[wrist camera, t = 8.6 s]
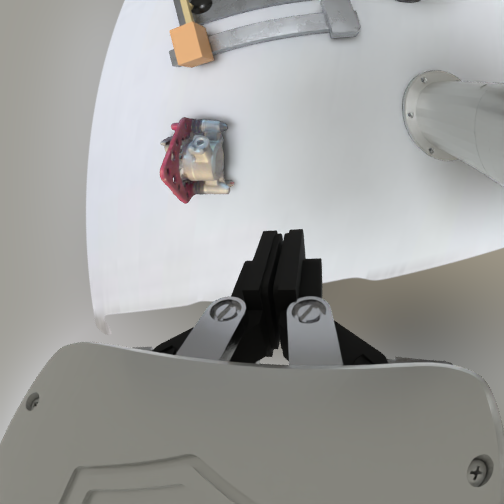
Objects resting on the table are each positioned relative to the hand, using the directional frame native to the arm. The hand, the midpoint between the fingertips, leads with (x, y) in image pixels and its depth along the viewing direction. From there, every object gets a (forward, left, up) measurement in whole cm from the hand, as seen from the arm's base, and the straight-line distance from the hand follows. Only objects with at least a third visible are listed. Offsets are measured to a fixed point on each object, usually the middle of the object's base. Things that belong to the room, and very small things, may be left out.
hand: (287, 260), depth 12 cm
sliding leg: (+10, -20, -25) cm, 33 cm away
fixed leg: (-8, -20, -25) cm, 33 cm away
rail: (+2, -16, -26) cm, 31 cm away
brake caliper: (+14, -2, -26) cm, 30 cm away
